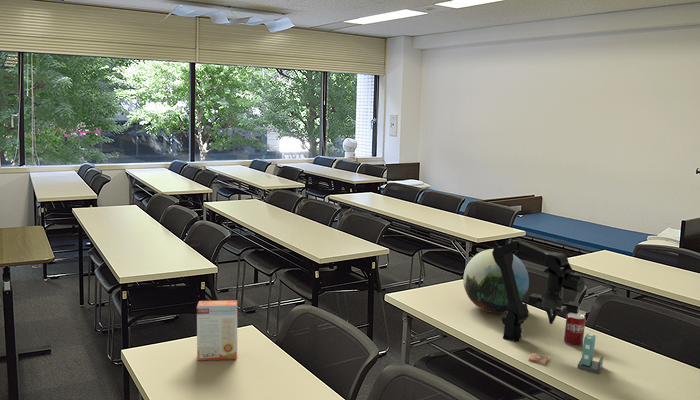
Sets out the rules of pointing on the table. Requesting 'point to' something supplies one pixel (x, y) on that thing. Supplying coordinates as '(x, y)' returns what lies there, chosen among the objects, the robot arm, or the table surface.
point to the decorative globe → (492, 282)
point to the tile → (538, 358)
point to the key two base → (592, 366)
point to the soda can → (574, 329)
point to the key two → (588, 349)
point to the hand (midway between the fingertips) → (551, 323)
